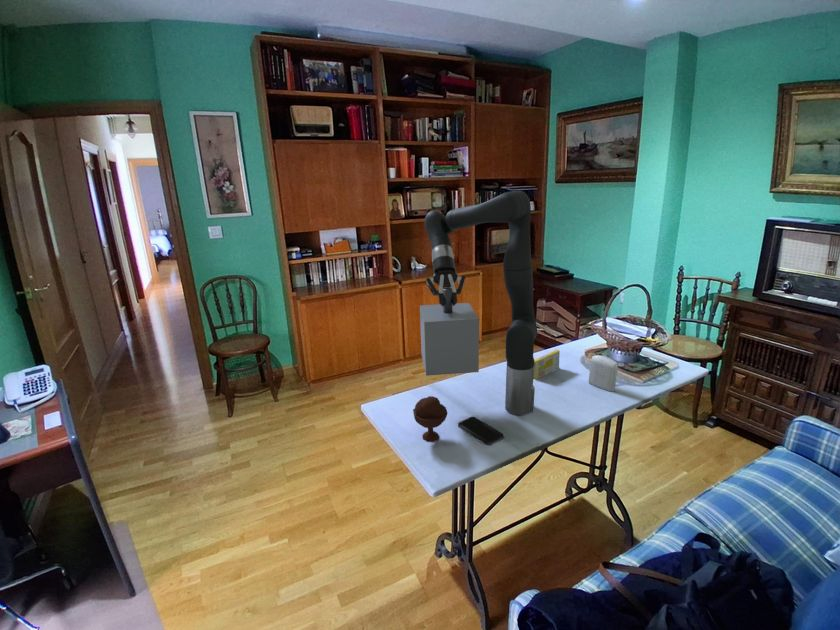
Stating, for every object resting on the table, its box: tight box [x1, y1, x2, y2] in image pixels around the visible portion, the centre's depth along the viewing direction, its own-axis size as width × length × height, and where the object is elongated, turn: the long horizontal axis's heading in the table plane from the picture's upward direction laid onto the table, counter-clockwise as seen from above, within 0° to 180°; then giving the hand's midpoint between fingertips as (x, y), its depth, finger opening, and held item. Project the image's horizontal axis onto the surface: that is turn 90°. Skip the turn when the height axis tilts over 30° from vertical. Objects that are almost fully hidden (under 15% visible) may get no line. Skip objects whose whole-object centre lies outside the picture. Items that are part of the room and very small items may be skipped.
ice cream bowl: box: [412, 395, 448, 443], centre depth 139 cm, size 11×11×15 cm
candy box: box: [533, 349, 561, 381], centre depth 181 cm, size 16×2×8 cm, turn 128°
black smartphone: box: [457, 416, 505, 446], centre depth 143 cm, size 8×1×15 cm
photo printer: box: [588, 354, 619, 392], centre depth 168 cm, size 10×4×12 cm, turn 38°
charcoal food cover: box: [419, 287, 480, 377], centre depth 148 cm, size 18×18×27 cm
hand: (448, 304), depth 144 cm, fingers closed on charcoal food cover, 3 cm apart
